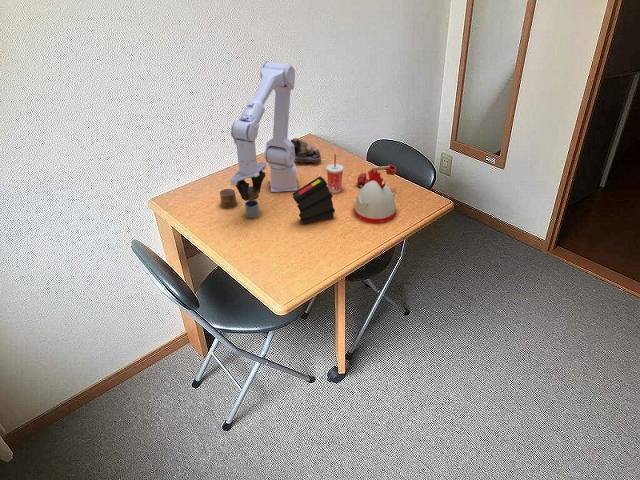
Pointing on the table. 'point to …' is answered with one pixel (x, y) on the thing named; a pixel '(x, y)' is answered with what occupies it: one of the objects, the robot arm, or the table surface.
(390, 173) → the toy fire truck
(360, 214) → the kitchen timer
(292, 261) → the table surface
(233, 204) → the oak chip bottom
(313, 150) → the bison figurine
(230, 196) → the disc
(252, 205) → the plastic cup
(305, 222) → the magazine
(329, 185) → the beverage cup
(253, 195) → the walnut chip
